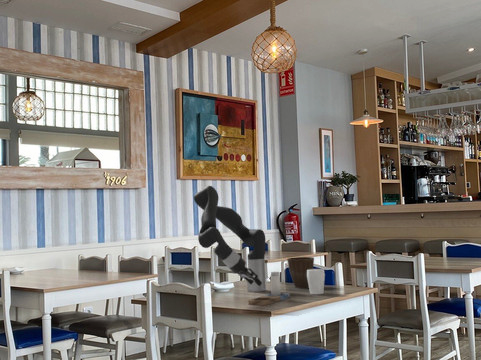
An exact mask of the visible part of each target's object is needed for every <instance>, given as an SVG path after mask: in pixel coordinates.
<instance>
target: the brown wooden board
mask: <svg viewBox="0 0 481 360" xmlns="http://www.w3.org/2000/svg"><path fill="white" fill-rule="evenodd" d="M280 293H281V296H271V293H269V294H264V295H262V296H258V297H255V298H252V299H249V300H247V301H248V302H247V303H248V305H249V306H250V305H251V306H268V305H271V304H275V303H277V302H279V301H283V300H286V299H290V298H291V293H289V292H288V293H287V292H280Z"/></svg>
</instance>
